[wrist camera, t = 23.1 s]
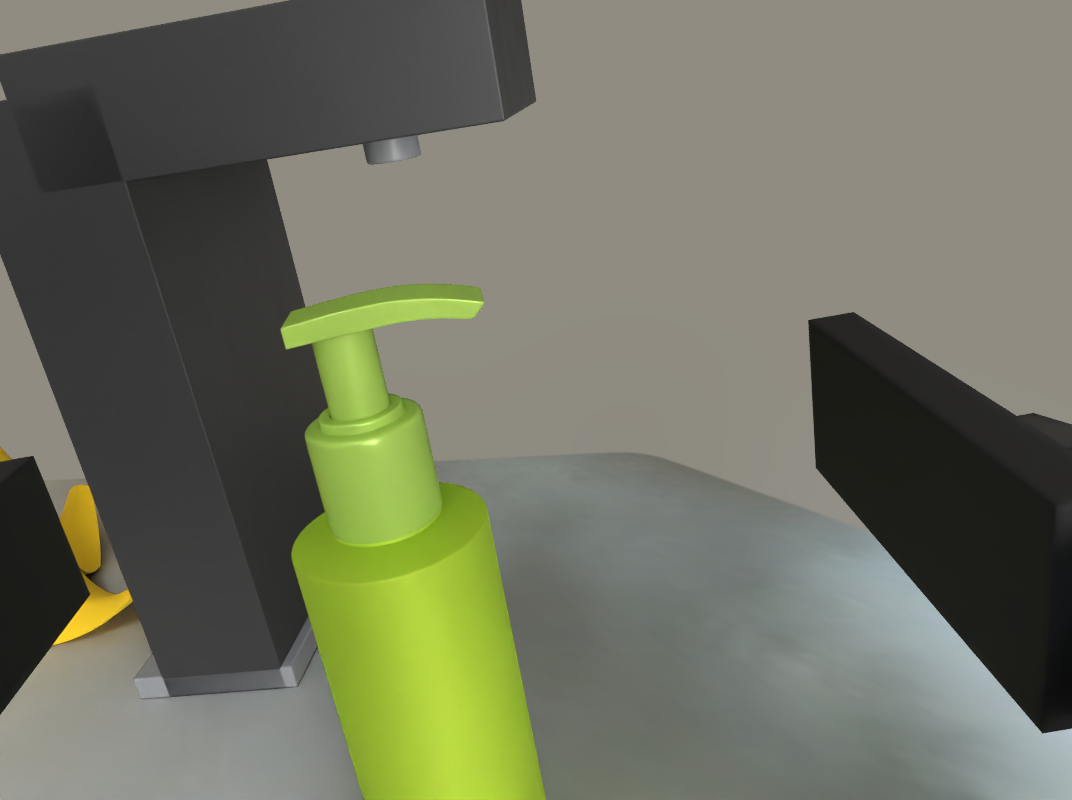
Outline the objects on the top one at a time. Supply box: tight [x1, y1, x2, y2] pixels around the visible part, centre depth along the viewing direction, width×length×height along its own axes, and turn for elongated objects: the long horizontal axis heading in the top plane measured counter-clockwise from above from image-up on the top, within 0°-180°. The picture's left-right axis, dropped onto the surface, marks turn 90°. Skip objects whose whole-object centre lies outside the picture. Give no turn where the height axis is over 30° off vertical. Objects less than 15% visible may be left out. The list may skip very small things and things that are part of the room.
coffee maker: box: [0, 0, 536, 699], centre depth 42 cm, size 22×14×28 cm, turn 85°
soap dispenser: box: [281, 284, 546, 800], centre depth 27 cm, size 6×7×20 cm
